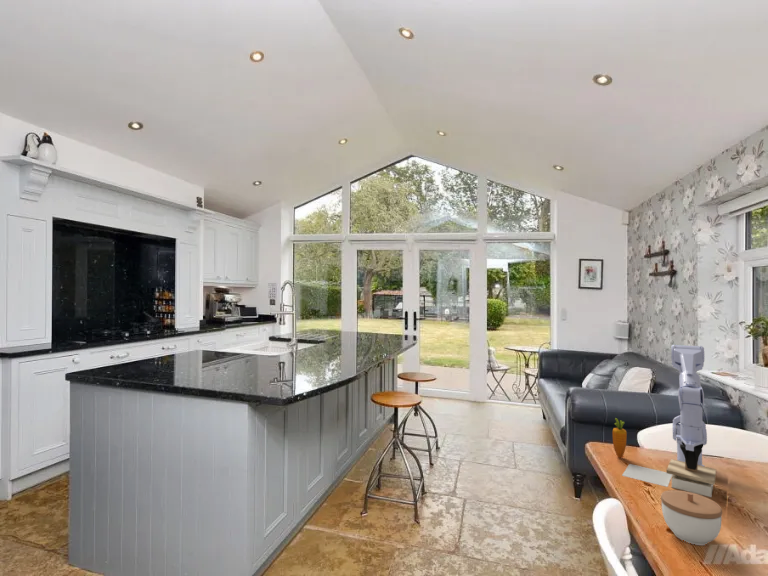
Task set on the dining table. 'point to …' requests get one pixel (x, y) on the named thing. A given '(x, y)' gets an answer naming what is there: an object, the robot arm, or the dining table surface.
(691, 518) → the lidded bowl
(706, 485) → the cream dish
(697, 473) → the oak lid
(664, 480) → the rubber mat
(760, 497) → the dining table surface
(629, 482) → the dining table surface
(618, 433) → the carrot
